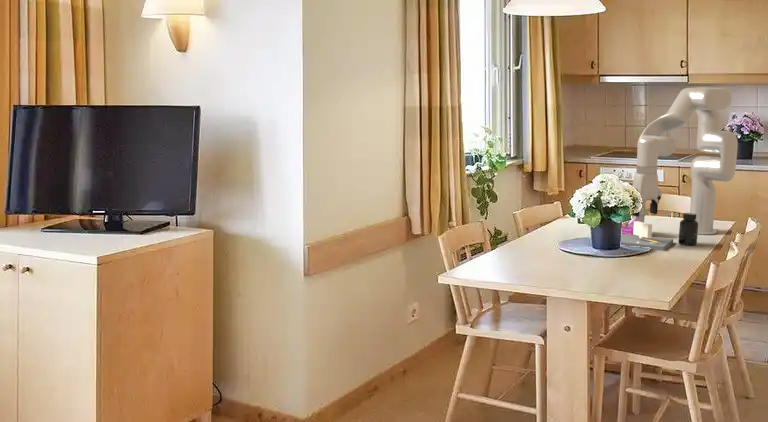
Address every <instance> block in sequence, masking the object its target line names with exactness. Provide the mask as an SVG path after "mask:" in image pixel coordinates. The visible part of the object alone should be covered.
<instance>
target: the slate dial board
mask: <svg viewBox="0 0 768 422" xmlns="http://www.w3.org/2000/svg"><path fill="white" fill-rule="evenodd" d="M645 238H646V237H645ZM646 239H650V240H654V241H658V243H656V242H652V241H648V240H644V239H639V236H638V235H630V234H622V235H621V245H625V246H624V247H626V246H640V247H650V248H651V249H650V250H654V251H665V250H667V249H668V247H670V246H671V245H673V244H674V239H673V238H666V237H658V236H657V237H656V236H652V237H651V238H646Z"/></svg>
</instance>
